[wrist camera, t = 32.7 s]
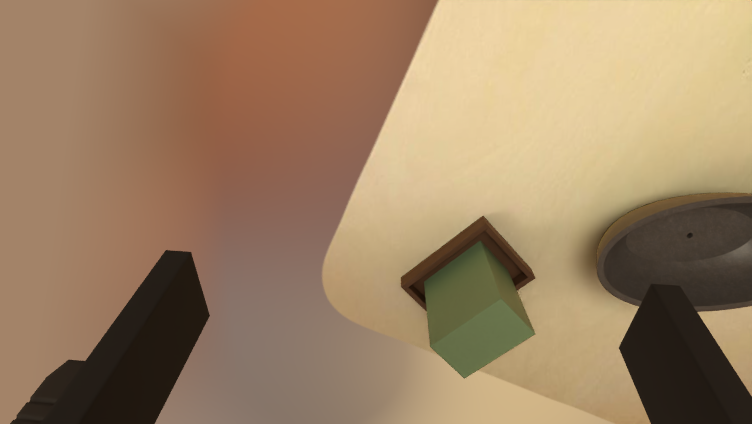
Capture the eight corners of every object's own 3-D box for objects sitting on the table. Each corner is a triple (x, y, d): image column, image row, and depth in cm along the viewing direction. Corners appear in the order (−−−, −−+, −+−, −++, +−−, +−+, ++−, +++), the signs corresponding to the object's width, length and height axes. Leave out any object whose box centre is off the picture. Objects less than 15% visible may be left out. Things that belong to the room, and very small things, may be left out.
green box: (423, 281, 51) (429, 346, 41) (480, 240, 49) (501, 298, 39) (451, 309, 53) (464, 379, 42) (508, 270, 50) (535, 334, 40)
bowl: (777, 271, 49) (827, 304, 43) (570, 283, 51) (591, 317, 45) (808, 165, 44) (868, 187, 39) (578, 183, 46) (603, 206, 41)
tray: (400, 277, 52) (400, 287, 50) (483, 215, 48) (486, 223, 46) (449, 324, 54) (450, 335, 52) (530, 268, 50) (535, 278, 49)
